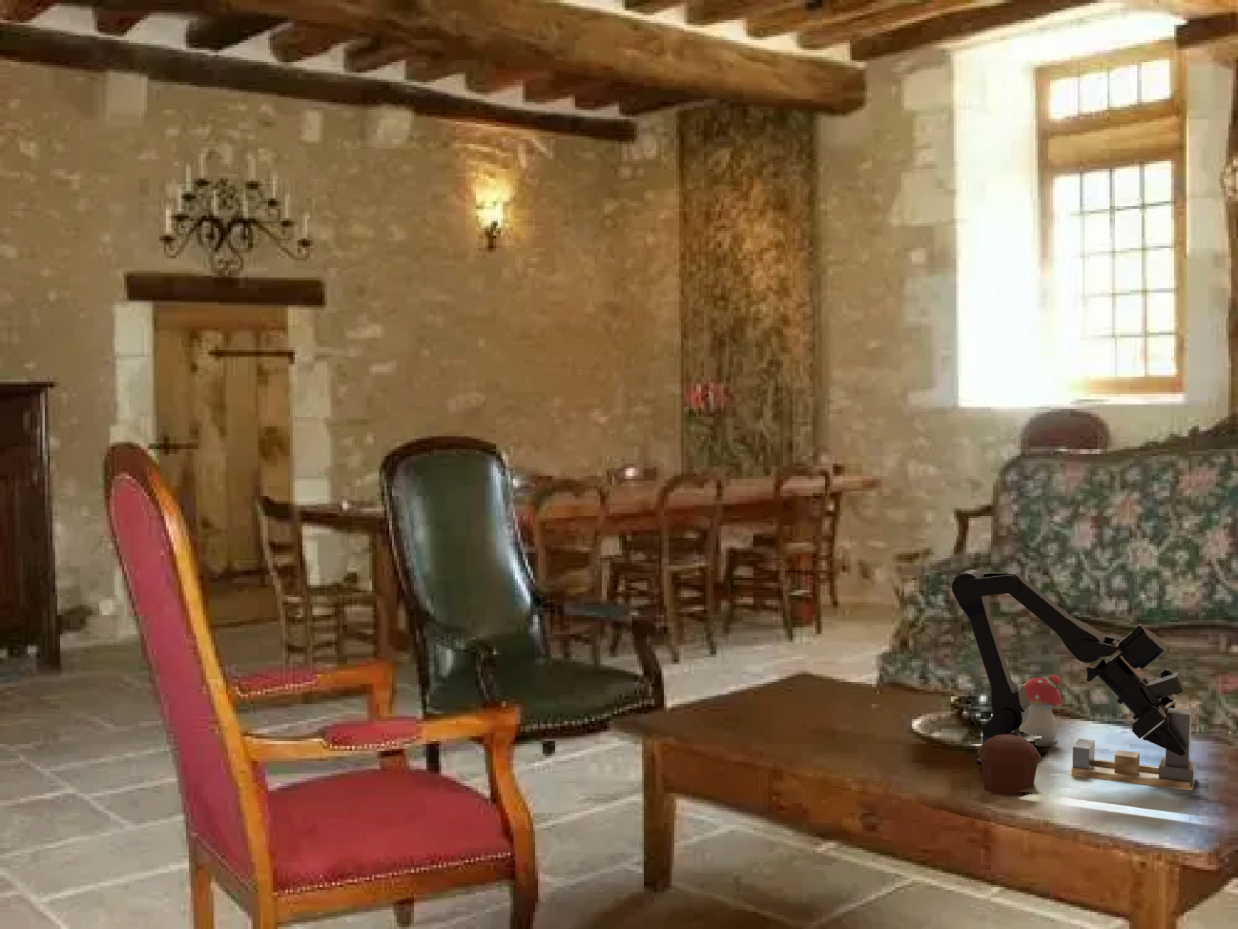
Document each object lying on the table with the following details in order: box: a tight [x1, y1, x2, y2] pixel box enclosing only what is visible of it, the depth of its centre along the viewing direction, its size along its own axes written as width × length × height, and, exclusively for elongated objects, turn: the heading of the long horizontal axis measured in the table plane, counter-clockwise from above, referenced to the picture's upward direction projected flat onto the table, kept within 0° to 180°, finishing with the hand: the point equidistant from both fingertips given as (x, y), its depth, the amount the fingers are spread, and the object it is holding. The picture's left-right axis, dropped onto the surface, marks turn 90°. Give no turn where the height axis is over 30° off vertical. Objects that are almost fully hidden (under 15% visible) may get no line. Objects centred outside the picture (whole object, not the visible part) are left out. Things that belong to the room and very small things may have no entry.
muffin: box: [977, 734, 1042, 797], centre depth 262 cm, size 12×11×10 cm
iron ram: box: [1158, 707, 1197, 787], centre depth 263 cm, size 6×7×13 cm
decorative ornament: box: [1018, 674, 1063, 747], centre depth 294 cm, size 9×6×15 cm
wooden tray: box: [1068, 758, 1198, 791], centre depth 267 cm, size 22×10×2 cm, turn 63°
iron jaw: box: [1072, 738, 1096, 770], centre depth 271 cm, size 3×7×5 cm, turn 153°
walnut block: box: [1114, 749, 1140, 776], centre depth 268 cm, size 4×4×4 cm
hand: (1186, 748), depth 263 cm, fingers open, 9 cm apart
